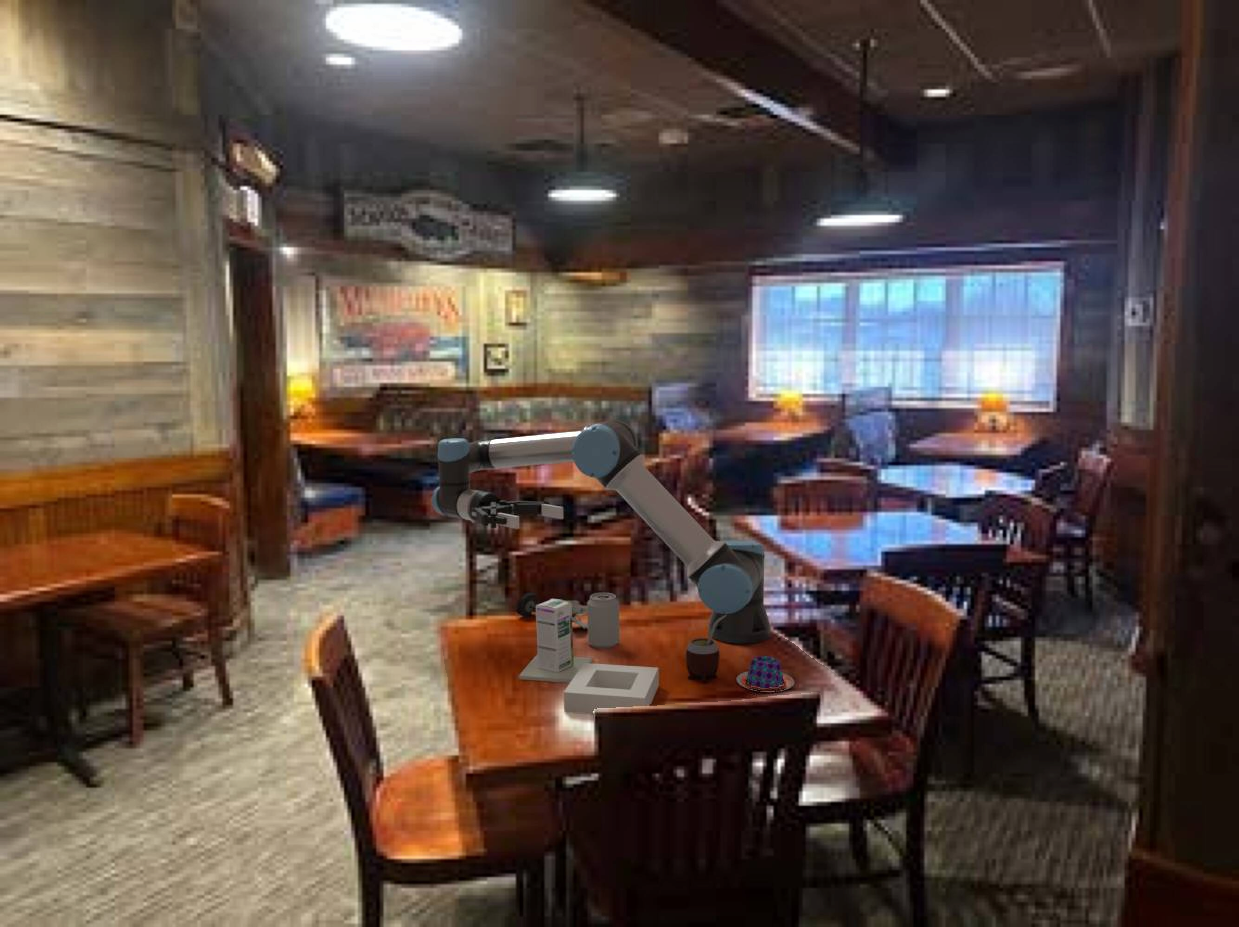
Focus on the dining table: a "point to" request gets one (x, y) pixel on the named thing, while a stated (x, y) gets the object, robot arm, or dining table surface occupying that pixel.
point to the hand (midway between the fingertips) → (540, 517)
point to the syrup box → (554, 635)
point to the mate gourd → (703, 657)
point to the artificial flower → (530, 602)
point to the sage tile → (543, 675)
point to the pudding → (764, 673)
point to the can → (603, 620)
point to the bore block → (610, 687)
